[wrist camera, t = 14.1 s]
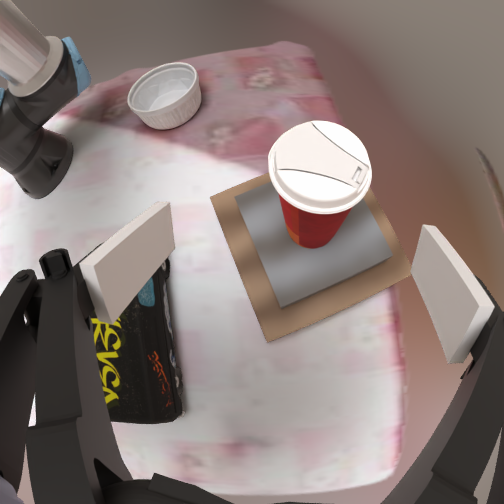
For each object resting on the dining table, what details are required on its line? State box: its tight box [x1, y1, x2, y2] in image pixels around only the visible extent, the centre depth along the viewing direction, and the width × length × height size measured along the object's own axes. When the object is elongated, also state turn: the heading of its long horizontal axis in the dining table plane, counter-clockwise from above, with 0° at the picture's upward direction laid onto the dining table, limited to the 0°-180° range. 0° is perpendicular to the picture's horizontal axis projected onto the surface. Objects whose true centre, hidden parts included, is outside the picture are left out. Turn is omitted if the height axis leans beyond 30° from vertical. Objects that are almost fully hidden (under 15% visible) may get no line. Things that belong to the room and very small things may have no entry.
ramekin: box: [127, 62, 201, 130], centre depth 46 cm, size 13×13×7 cm
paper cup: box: [268, 121, 372, 249], centre depth 26 cm, size 8×8×14 cm
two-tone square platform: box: [210, 173, 412, 343], centre depth 36 cm, size 20×20×7 cm
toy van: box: [90, 257, 185, 424], centre depth 34 cm, size 11×25×10 cm, turn 9°
